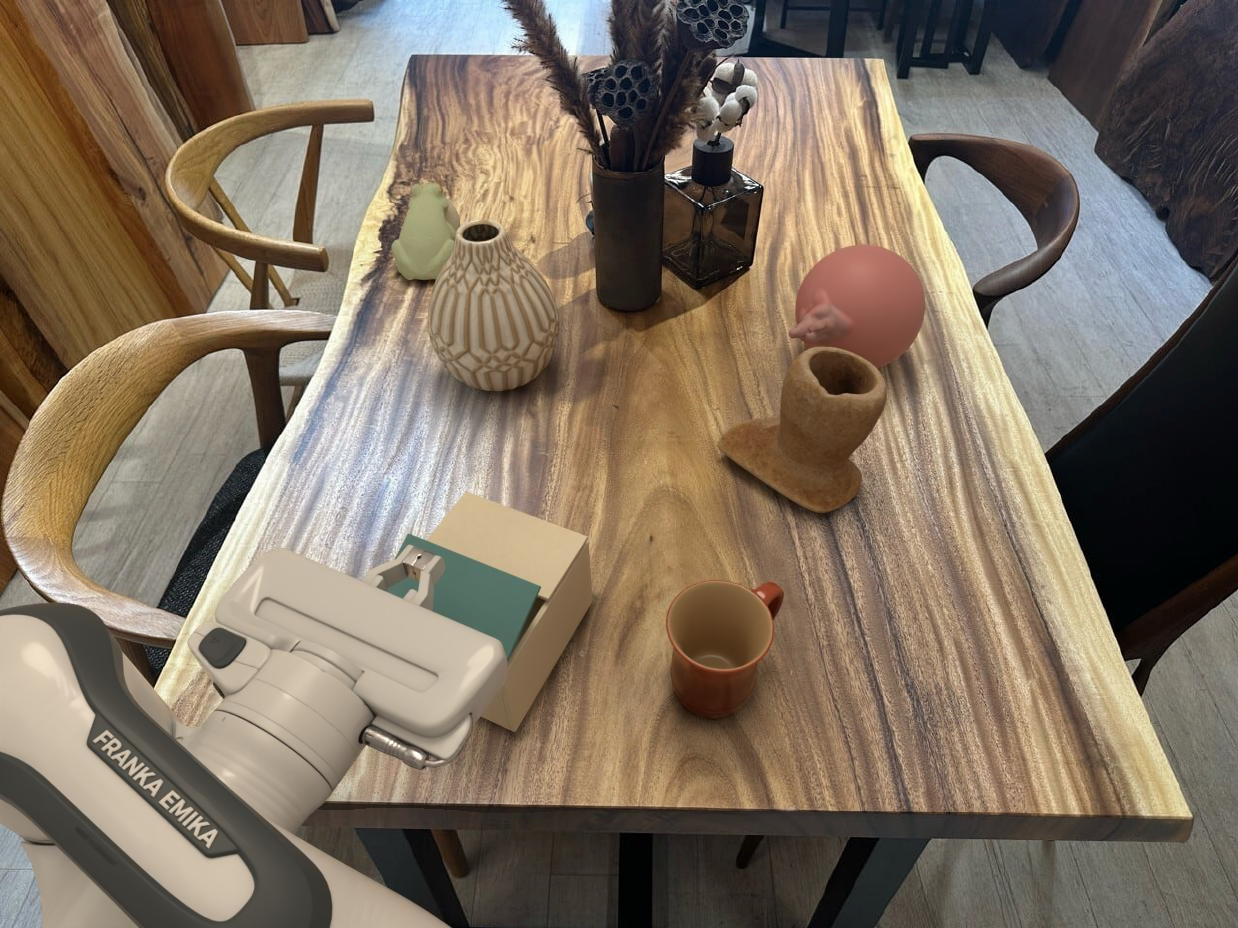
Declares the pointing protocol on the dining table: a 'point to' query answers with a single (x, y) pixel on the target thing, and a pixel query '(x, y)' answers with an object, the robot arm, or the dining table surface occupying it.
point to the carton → (538, 559)
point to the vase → (491, 311)
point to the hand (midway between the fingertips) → (428, 555)
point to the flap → (476, 594)
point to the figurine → (426, 233)
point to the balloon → (861, 304)
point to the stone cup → (813, 429)
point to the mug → (719, 643)
